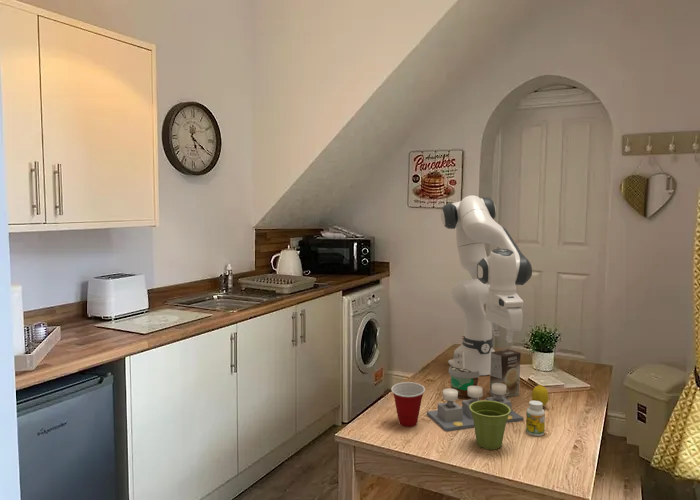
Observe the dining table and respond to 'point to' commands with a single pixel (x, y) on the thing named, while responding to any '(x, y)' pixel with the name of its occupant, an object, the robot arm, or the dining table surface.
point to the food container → (462, 380)
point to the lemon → (540, 394)
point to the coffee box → (506, 371)
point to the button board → (464, 415)
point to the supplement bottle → (535, 419)
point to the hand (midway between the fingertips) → (502, 339)
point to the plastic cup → (408, 402)
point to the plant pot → (489, 422)
